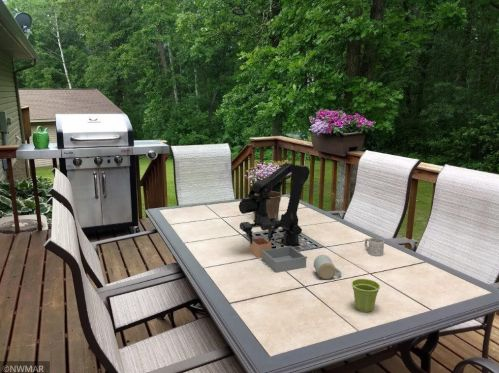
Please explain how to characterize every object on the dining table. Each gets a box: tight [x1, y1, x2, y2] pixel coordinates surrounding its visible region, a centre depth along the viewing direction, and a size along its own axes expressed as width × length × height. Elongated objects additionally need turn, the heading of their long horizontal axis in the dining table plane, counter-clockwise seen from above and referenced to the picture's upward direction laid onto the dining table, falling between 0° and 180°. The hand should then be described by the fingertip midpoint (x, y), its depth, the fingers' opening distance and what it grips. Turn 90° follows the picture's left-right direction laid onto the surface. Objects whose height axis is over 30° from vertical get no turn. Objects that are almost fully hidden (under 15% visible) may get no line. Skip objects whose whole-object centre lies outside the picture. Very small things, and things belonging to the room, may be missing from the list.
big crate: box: [261, 245, 307, 274], centre depth 172 cm, size 14×14×5 cm
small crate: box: [249, 237, 272, 259], centre depth 183 cm, size 7×9×6 cm
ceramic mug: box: [313, 254, 343, 280], centre depth 160 cm, size 11×8×8 cm
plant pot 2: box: [351, 278, 381, 313], centre depth 134 cm, size 9×9×9 cm
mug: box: [364, 237, 385, 257], centre depth 184 cm, size 10×7×7 cm, turn 31°
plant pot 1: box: [254, 190, 283, 220], centre depth 233 cm, size 16×16×16 cm
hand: (260, 242), depth 183 cm, fingers open, 9 cm apart
